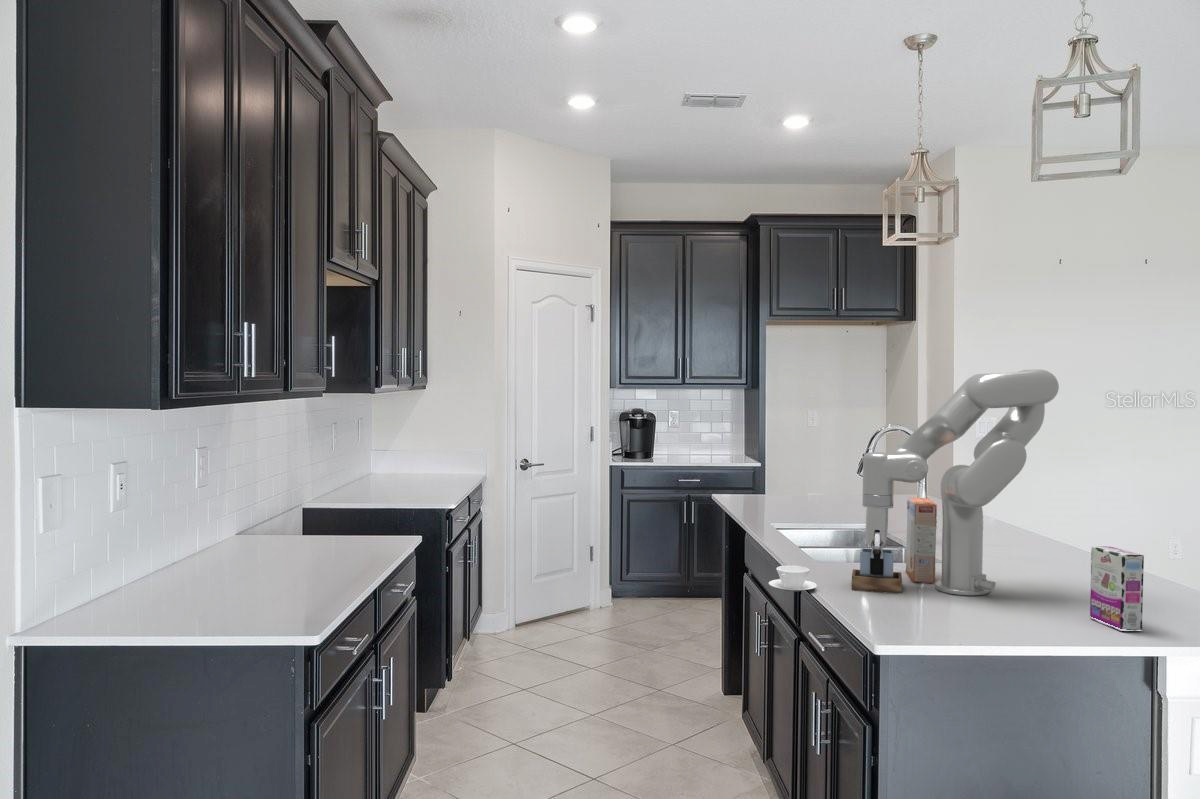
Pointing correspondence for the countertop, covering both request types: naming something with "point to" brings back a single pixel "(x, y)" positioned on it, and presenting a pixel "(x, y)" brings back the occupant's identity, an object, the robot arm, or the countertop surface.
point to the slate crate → (887, 556)
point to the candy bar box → (1117, 587)
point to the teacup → (792, 579)
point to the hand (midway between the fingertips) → (876, 571)
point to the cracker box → (921, 540)
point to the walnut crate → (877, 583)
